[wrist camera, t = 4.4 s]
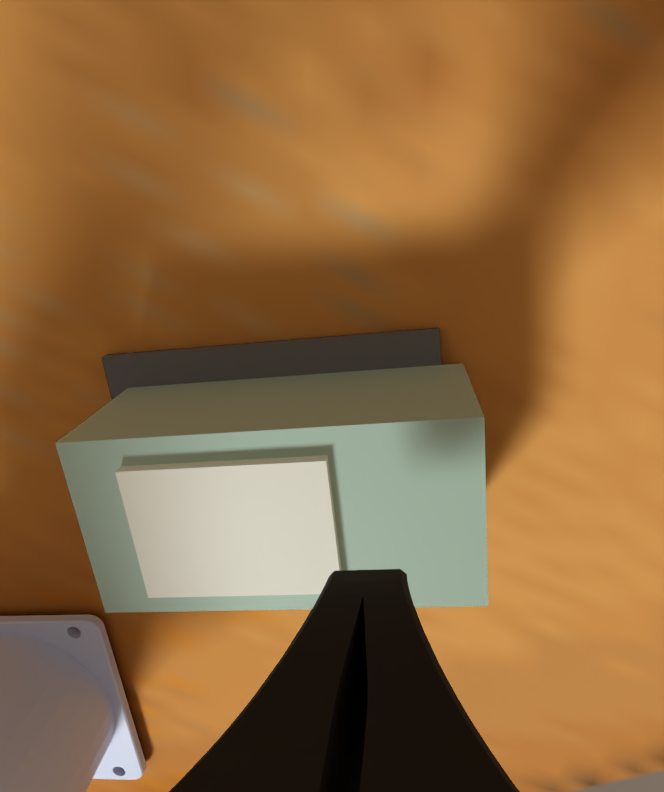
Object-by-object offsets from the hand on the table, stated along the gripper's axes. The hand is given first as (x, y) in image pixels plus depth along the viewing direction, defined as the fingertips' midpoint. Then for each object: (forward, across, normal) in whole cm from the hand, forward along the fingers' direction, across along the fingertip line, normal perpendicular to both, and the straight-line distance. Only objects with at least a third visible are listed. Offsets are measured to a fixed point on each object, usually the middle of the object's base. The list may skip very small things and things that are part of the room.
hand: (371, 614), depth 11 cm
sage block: (+5, -3, 0) cm, 6 cm away
